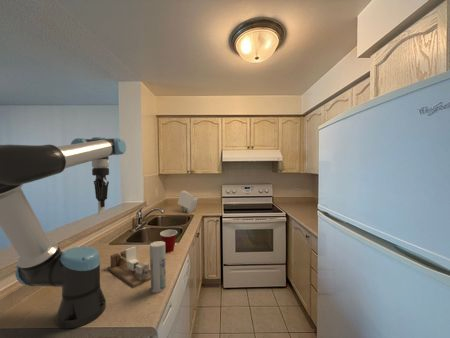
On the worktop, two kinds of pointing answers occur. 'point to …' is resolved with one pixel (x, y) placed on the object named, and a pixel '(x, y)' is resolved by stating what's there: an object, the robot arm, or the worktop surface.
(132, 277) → the board
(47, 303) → the worktop surface
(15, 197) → the robot arm
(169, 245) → the plastic cup
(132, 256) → the white l-shaped block
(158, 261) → the spray can
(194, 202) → the tissue box
